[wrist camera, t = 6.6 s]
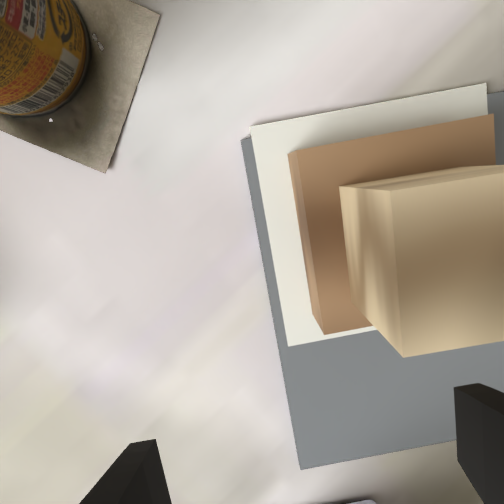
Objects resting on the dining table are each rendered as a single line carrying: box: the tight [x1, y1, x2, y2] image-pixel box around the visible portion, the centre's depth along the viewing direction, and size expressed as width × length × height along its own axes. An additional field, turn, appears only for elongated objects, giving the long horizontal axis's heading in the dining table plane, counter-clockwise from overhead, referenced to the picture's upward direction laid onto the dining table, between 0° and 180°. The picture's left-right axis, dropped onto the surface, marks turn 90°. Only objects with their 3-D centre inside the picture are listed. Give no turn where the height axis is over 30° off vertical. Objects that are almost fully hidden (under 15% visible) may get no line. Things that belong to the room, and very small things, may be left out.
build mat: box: [241, 83, 504, 470], centre depth 19 cm, size 18×16×1 cm
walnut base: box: [287, 114, 496, 335], centre depth 17 cm, size 8×8×2 cm
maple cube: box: [339, 165, 504, 358], centre depth 13 cm, size 5×5×5 cm
